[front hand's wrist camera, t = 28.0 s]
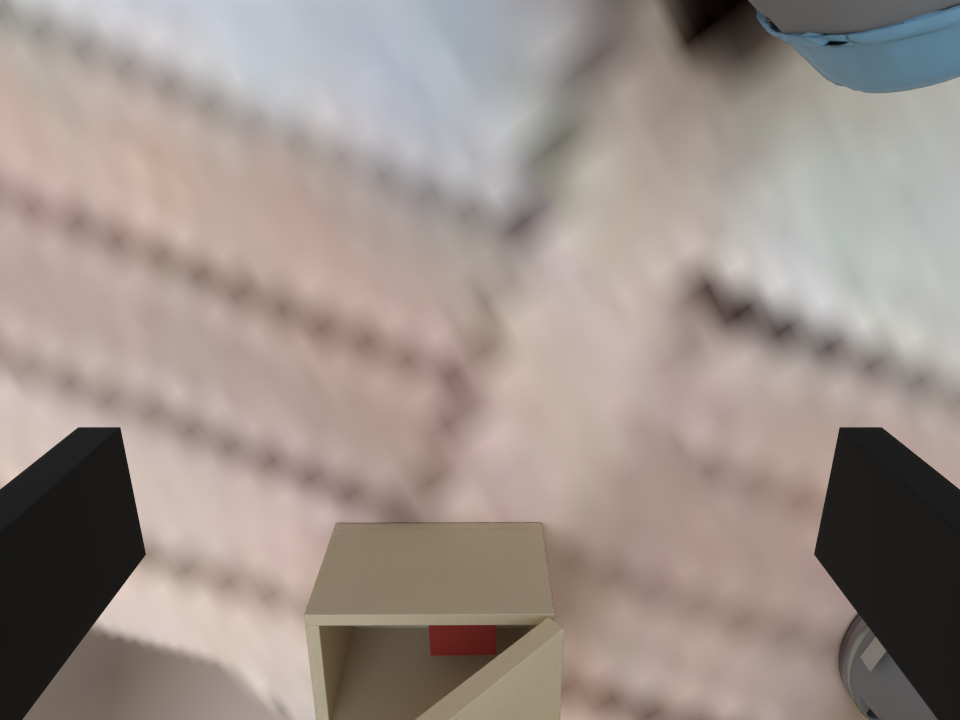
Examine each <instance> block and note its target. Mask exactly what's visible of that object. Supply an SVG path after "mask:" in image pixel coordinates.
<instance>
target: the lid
mask: <svg viewBox="0 0 960 720" xmlns="http://www.w3.org/2000/svg"><path fill="white" fill-rule="evenodd" d="M563 645H564V627H562V626H561V625H559V624H558V623H556V622H555V621H553V620H551V619H550V618H546V619H545V620H544V621H543V622H541V623H540V624H539V625H537V626H536V627H535V628H533V629H532V630H531V631H530V632H528V633H527V634H526V635H524V636H523V637H522V638H520V639H519V640H518V641H516V642H515V643H514V644H513V645H511V646H510V647H509V648H507V649H506V650H505V651H503V652H502V653H501V654H500V655H498V656H497V657H496V658H494V659H493V660H492V661H490V662H489V663H488V664H487V665H485V666H484V667H483V668H481V669H480V670H479V671H477V672H476V673H475V674H474V675H472V676H471V677H470V678H468V679H467V680H466V681H464V682H463V683H462V684H460V685H459V686H458V687H457V688H455V689H454V690H453V691H451V692H450V693H449V694H447V695H446V696H445V697H444V698H442V699H441V700H440V701H438V702H437V703H436V704H434V705H433V706H432V707H431V708H429V709H428V710H427V711H425V712H424V713H423V714H421V715H420V716H419V717H417V718H416V719H415V720H560V707H561V686H562V666H563Z"/></svg>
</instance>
